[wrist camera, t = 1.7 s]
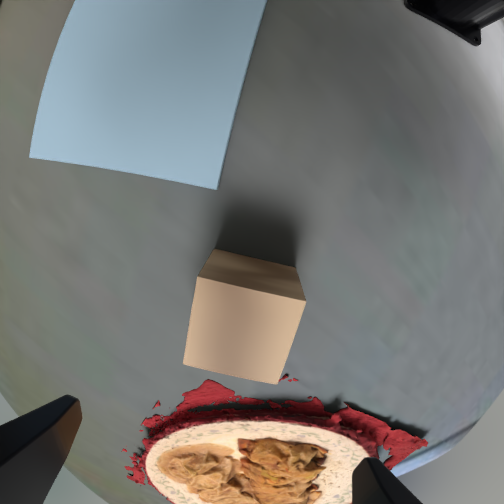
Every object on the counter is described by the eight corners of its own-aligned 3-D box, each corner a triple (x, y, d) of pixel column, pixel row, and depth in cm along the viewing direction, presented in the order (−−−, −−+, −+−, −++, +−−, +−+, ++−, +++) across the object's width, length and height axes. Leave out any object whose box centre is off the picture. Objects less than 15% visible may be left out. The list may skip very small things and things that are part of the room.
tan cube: (295, 267, 18) (306, 301, 14) (274, 336, 20) (277, 384, 15) (214, 248, 18) (197, 276, 13) (200, 320, 20) (183, 364, 15)
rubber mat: (271, -14, 14) (272, -19, 13) (217, 189, 17) (216, 189, 17) (87, -13, 13) (83, -17, 13) (34, 157, 17) (29, 157, 16)
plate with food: (423, 430, 23) (436, 453, 20) (272, 530, 29) (272, 549, 26) (211, 322, 21) (202, 349, 17) (107, 468, 27) (98, 488, 23)
